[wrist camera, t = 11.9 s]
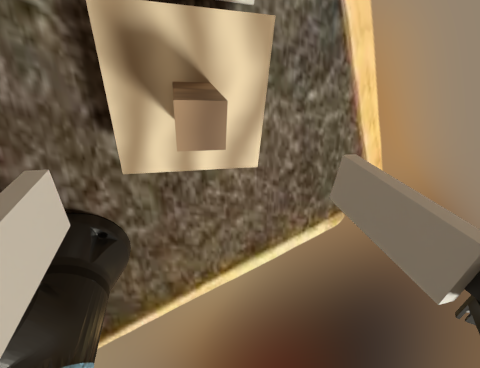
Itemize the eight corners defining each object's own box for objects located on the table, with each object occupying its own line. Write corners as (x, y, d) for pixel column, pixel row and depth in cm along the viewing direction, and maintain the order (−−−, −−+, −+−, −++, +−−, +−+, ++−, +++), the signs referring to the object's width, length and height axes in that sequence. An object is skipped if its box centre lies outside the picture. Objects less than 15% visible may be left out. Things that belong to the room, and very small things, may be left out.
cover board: (124, 170, 29) (105, 222, 21) (87, -5, 20) (30, -36, 12) (255, 163, 33) (283, 204, 25) (271, 16, 24) (323, 4, 16)
